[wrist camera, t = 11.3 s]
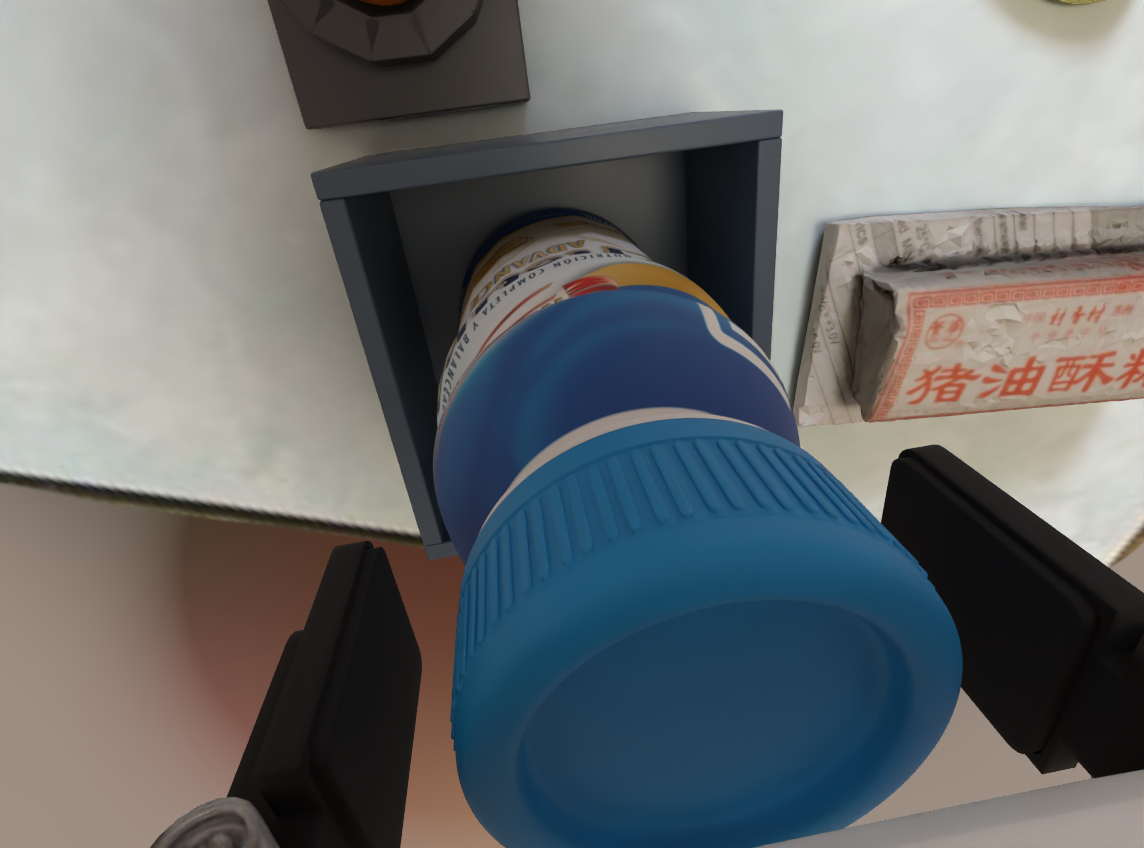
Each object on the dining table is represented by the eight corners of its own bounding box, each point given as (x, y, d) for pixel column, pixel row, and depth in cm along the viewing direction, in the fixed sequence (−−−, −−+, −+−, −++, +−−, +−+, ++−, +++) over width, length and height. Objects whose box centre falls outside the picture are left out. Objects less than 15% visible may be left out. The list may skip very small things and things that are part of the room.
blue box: (366, 155, 22) (308, 172, 15) (694, 112, 23) (784, 109, 16) (443, 452, 29) (428, 561, 22) (698, 411, 29) (763, 503, 22)
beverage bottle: (512, 424, 27) (555, 980, 10) (418, 257, 23) (196, 689, 6) (679, 348, 26) (1054, 801, 9) (611, 163, 22) (1046, 321, 5)
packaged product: (1312, 210, 23) (1192, 431, 28) (1183, 195, 27) (1098, 389, 32) (884, 236, 21) (834, 467, 26) (818, 216, 25) (785, 417, 30)
